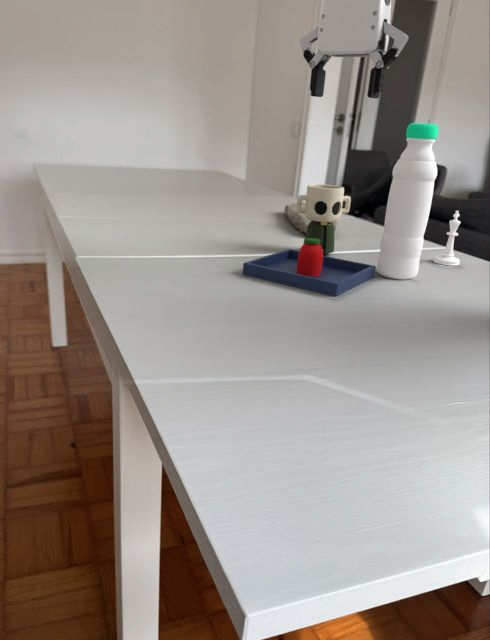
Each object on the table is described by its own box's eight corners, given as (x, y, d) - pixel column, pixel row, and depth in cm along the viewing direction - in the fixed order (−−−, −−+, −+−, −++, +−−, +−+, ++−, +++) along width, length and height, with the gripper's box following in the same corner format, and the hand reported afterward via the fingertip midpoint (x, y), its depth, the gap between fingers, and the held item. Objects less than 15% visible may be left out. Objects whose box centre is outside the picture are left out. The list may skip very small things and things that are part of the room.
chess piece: (428, 261, 108) (438, 210, 104) (440, 258, 111) (450, 208, 107) (452, 267, 105) (464, 214, 101) (463, 263, 108) (475, 211, 104)
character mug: (297, 256, 107) (304, 188, 102) (287, 248, 113) (293, 183, 108) (350, 257, 109) (359, 189, 104) (337, 248, 115) (345, 184, 110)
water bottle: (393, 282, 93) (422, 123, 83) (367, 271, 99) (391, 121, 89) (425, 278, 96) (457, 125, 86) (397, 268, 102) (424, 123, 92)
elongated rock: (312, 218, 156) (277, 218, 156) (313, 198, 154) (277, 199, 154) (345, 237, 123) (301, 238, 123) (346, 213, 121) (302, 214, 121)
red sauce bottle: (325, 272, 95) (329, 239, 93) (314, 277, 92) (318, 243, 90) (303, 268, 97) (307, 235, 95) (292, 272, 94) (295, 239, 92)
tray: (374, 277, 96) (376, 266, 95) (335, 296, 84) (337, 284, 84) (287, 258, 105) (288, 248, 104) (242, 274, 94) (243, 262, 93)
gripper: (427, -32, 79) (405, 99, 85) (318, -21, 88) (306, 97, 95) (410, -44, 73) (388, 97, 80) (295, -31, 82) (285, 94, 89)
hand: (344, 97), depth 87 cm, fingers open, 9 cm apart
